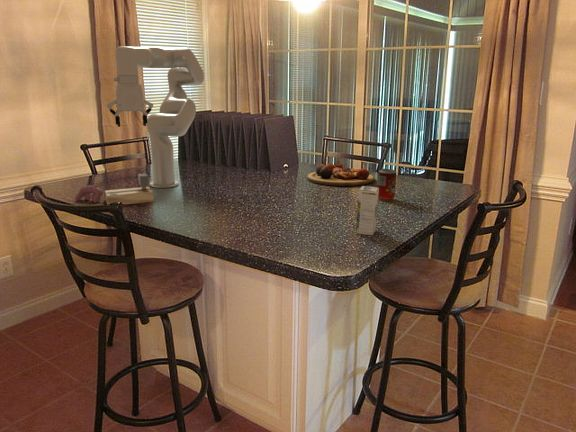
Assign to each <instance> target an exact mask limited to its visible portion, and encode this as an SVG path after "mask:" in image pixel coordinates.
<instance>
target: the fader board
mask: <svg viewBox="0 0 576 432" xmlns="http://www.w3.org/2000/svg"><path fill="white" fill-rule="evenodd" d="M104 196H105V203H106V205H107V204H110V203H113V202H122V204H123V205H131V204H133V205H134V204H142V203H143V204H144V203H152V202H153V203H154V202H155V200H154V199H155V197H154V190H152V189H151V186H146V189H142V188H141V186H140V187H131V188H118V189H107V190H104Z"/></svg>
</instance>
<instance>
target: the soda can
mask: <svg viewBox="0 0 576 432" xmlns="http://www.w3.org/2000/svg"><path fill="white" fill-rule="evenodd" d="M397 174H398V173H397V171H396V170H395V169H392V168H381V169H380V170H378V175H377V176H378V178H377V188H379V193H378V201H380V202H381V201H382V202H392V201H393V199H394V198H395V195H396V184H397Z"/></svg>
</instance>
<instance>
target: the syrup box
mask: <svg viewBox="0 0 576 432" xmlns="http://www.w3.org/2000/svg"><path fill="white" fill-rule="evenodd" d="M378 193H379V188H378V187H376V186H375V187H374V186H368V185H367V186H365V185H361V187H360V188H359V189H358V197H357V210H356V225H355V235H357V234H358V235H366V236H367V235H368V236H374V234H375V232H376V229H377V216H378V215H377V214H378V206H379V205H378V204H379V198H378Z"/></svg>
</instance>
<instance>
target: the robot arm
mask: <svg viewBox="0 0 576 432" xmlns="http://www.w3.org/2000/svg"><path fill="white" fill-rule="evenodd" d="M115 63H116V75H117V76H116V77H113V82H117V84H116V86H115V100H112V101H110V102H109V103H107V104H106V105H105V106H106V108H107V109H108V111H109V112H110V113H111V114H112V115H113V116H114V117H115V119H114V120H115V125H117V128H120V127H121V117H120V114H121V112H141V113H142V116H141V117H142V126H144V127H146V128H147V132H148V136H149V137H148V138H149V142H150V143H149V144H150V153H151V167H152V170H151V171H152V181H150V182H149V187H150V188H151V187H152V188H155V189H167V188H169V189H170V188H174V187H178V186H179V181H178V180H176V173H175V155H174V154H175V153H174V144H173V142H172V140H171V138H170V137H183V136H184V135H186V133H187V132H188V130H189V128H190V126H191V125H192V123H193V121H195V120H194V119H195V117H196V114H197V107H196V104H195V102H194V101H193V99H190V98H188V95H187V93H186V91H185V89H183V87H182V86H200V85H202V84H203V83H204V80H205V73H204V70H203V68H202V66H201V64H200V62H199V61H198V58H197V56H196V55H195V54H194V52H193V51H192V50H191V49H190V48H189V47H163V46H162V47H161V46H147V47H146V46H127V45H126V46H125V45H124V46H120V45H119V46H116V47H115ZM138 68H147V69H169V70H168V71H167V83H168V89H169V90H168V93H167V94H166V96H165V98H164V99H163V101H162V102H161V104H160V107H159V113H156V112H155V113H152V114H150V113H151V111H152V109H153V107H154V103H152V102H150V101H148V100H146V99H144V90H143V87H142V84H140V83H139V82H140V81H139V71H138V70H139V69H138ZM145 105H147V106H148V108H146V110H145ZM112 106H115V107H116V110H114V109H113V108H112ZM149 114H150V115H149ZM148 115H149V116H148Z"/></svg>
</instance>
